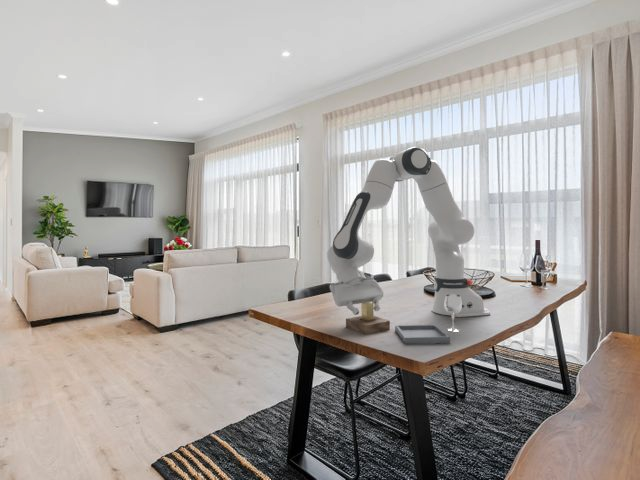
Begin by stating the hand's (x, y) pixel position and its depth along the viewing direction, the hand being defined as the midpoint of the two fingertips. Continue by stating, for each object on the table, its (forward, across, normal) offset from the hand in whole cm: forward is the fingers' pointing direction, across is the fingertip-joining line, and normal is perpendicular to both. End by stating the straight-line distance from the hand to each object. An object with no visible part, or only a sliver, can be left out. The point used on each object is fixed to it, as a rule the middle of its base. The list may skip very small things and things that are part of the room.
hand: (367, 312), depth 133 cm
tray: (+16, +8, -8) cm, 20 cm away
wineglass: (+17, +23, -9) cm, 30 cm away
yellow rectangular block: (+4, 0, +4) cm, 6 cm away
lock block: (+4, 0, +4) cm, 6 cm away
